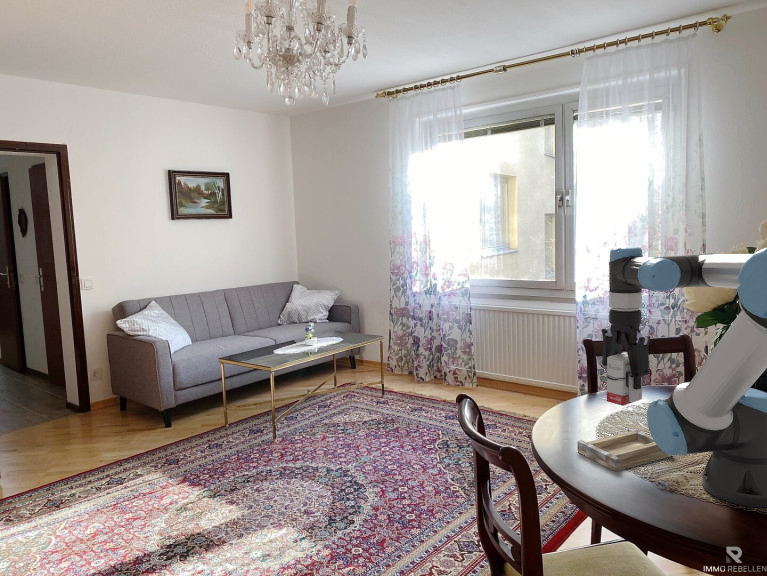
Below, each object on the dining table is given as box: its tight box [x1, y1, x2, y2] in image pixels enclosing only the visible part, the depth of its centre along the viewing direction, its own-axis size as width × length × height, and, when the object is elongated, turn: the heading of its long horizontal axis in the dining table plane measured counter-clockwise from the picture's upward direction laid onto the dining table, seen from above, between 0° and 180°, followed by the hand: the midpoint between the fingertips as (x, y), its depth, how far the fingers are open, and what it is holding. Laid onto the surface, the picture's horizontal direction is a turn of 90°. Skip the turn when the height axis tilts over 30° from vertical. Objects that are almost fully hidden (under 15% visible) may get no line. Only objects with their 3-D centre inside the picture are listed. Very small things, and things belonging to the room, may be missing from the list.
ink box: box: [606, 351, 643, 407], centre depth 141 cm, size 8×5×12 cm, turn 123°
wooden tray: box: [576, 427, 673, 472], centre depth 143 cm, size 13×19×3 cm
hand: (624, 397), depth 142 cm, fingers closed on ink box, 6 cm apart
